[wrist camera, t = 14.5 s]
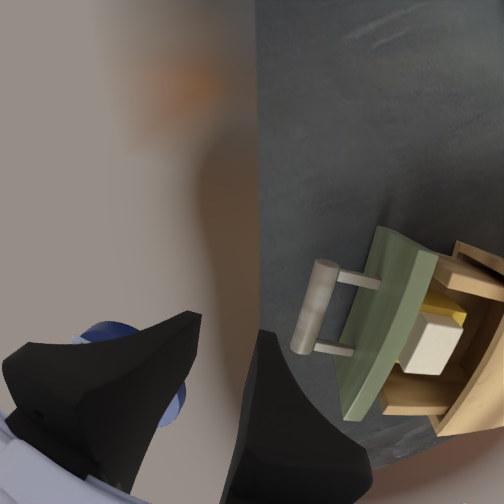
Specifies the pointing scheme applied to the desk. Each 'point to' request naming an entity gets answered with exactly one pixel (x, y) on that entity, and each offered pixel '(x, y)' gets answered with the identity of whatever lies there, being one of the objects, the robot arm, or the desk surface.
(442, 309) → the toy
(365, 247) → the desk surface
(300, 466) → the robot arm
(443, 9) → the desk surface
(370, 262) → the drawer
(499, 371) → the cabinet
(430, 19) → the desk surface
